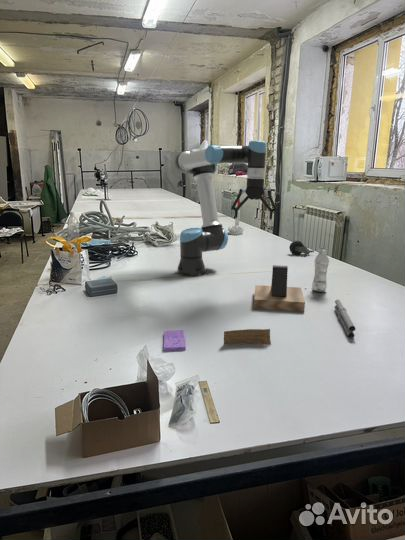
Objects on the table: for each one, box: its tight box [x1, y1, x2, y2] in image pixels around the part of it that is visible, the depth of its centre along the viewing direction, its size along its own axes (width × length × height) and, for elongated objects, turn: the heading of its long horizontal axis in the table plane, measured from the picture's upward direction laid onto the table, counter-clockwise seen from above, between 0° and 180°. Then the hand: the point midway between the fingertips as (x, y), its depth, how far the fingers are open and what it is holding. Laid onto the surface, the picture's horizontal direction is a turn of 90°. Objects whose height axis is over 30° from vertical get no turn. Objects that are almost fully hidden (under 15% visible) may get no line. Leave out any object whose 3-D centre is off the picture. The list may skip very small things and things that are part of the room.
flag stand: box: [227, 196, 245, 236], centre depth 300 cm, size 13×13×30 cm
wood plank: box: [223, 328, 272, 346], centre depth 120 cm, size 15×2×5 cm, turn 94°
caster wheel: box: [289, 240, 315, 257], centre depth 235 cm, size 6×10×15 cm
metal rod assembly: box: [334, 299, 356, 339], centre depth 137 cm, size 26×3×5 cm, turn 171°
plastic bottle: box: [311, 247, 330, 293], centre depth 168 cm, size 6×7×20 cm
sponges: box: [163, 329, 187, 352], centre depth 123 cm, size 7×13×2 cm, turn 5°
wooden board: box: [253, 284, 306, 313], centre depth 157 cm, size 20×18×4 cm
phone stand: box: [270, 264, 289, 297], centre depth 155 cm, size 9×6×12 cm, turn 171°
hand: (252, 225), depth 168 cm, fingers open, 13 cm apart
